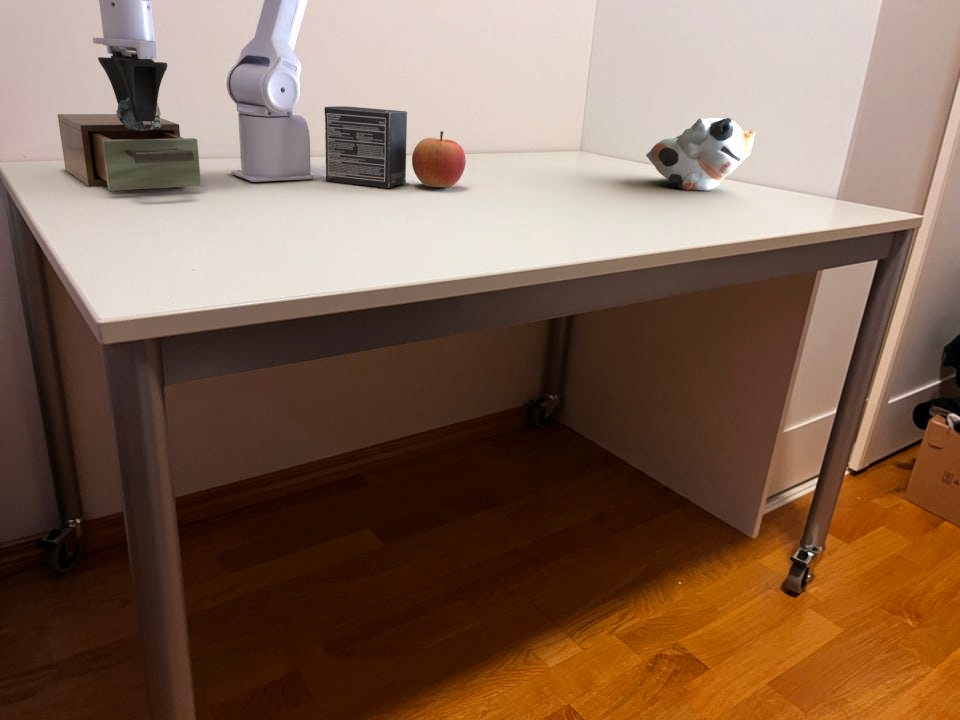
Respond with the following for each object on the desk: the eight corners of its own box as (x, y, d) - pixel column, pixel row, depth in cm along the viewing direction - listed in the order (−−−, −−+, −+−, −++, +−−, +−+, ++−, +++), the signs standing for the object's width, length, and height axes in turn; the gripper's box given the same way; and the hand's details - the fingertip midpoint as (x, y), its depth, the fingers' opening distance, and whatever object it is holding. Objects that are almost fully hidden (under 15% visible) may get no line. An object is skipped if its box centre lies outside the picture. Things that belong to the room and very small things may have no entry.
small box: (408, 183, 114) (409, 110, 110) (389, 189, 108) (390, 112, 104) (345, 175, 117) (344, 104, 113) (323, 181, 111) (322, 106, 107)
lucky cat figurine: (693, 177, 137) (744, 110, 130) (725, 216, 130) (781, 147, 122) (632, 152, 130) (682, 79, 122) (662, 192, 122) (717, 117, 114)
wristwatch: (152, 140, 98) (127, 108, 97) (170, 115, 95) (144, 82, 94) (133, 145, 95) (108, 112, 95) (151, 119, 92) (124, 85, 92)
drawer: (214, 192, 94) (211, 144, 92) (121, 198, 88) (115, 146, 86) (170, 170, 107) (166, 127, 105) (85, 174, 100) (79, 128, 98)
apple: (440, 181, 118) (442, 127, 115) (475, 189, 112) (478, 133, 109) (399, 184, 112) (400, 128, 109) (434, 193, 107) (436, 135, 104)
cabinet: (184, 181, 105) (179, 124, 102) (88, 186, 98) (80, 125, 95) (154, 166, 114) (149, 114, 111) (65, 170, 107) (57, 114, 104)
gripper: (74, -4, 93) (89, 112, 98) (104, -5, 83) (119, 125, 88) (135, 1, 97) (146, 112, 102) (171, 1, 87) (181, 124, 92)
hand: (138, 118), depth 95 cm, fingers closed on wristwatch, 5 cm apart
